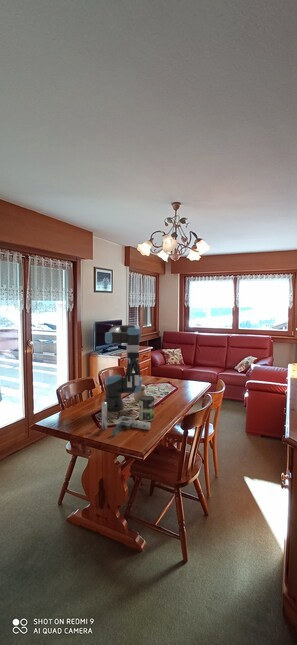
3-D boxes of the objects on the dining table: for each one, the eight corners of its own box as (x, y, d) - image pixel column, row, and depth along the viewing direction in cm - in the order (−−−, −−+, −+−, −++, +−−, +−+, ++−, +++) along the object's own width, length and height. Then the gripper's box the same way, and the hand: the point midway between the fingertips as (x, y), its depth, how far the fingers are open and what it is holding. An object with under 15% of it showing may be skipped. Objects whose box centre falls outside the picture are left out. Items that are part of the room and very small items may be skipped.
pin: (100, 429, 187) (100, 403, 186) (103, 427, 190) (103, 401, 189) (105, 429, 185) (105, 403, 184) (107, 427, 188) (107, 402, 187)
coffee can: (157, 417, 206) (157, 396, 205) (148, 422, 198) (149, 401, 197) (144, 414, 212) (144, 394, 211) (135, 419, 203) (135, 398, 202)
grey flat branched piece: (107, 434, 179) (107, 428, 178) (122, 422, 198) (122, 415, 198) (139, 440, 172) (140, 433, 171) (152, 426, 191) (152, 420, 191)
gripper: (132, 351, 182) (132, 388, 179) (144, 352, 205) (145, 384, 203) (120, 351, 184) (120, 388, 181) (134, 352, 208) (134, 384, 205)
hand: (133, 386), depth 192 cm, fingers open, 13 cm apart
